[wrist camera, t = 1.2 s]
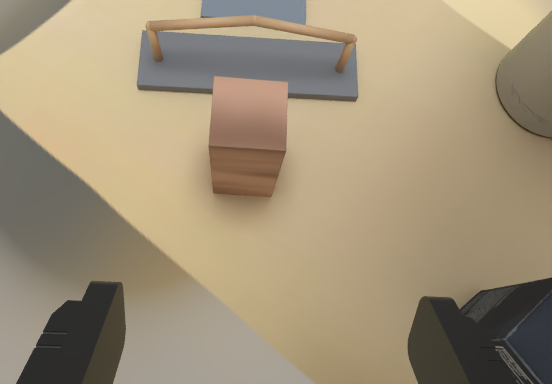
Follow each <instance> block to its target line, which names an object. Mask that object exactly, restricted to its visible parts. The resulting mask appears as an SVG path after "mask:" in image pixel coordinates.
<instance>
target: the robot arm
mask: <svg viewBox="0 0 552 384" xmlns="http://www.w3.org/2000/svg"><path fill="white" fill-rule="evenodd" d="M496 82H497V91H498V94H499V98H500V100H501V102H502V104H503V106H504V108H505V109H506V111H507V112H508V113H509V114H510V116H511V117H512V118H513V119H514V120H515V121H516V122H517V123H519V124H520V125H521V126H523V127H524V128H526V129H527V130H529V131H531V132H533V133H536V134H538V135H541V136H546V137H551V138H552V11H551V12H550V13H549V14H548V15H547V16H546V17H545V18H544V19H543V20H542V21H541V22H540V23H539V24H538V25H537V26H536V27H535V28H534V29H532V30H531V31H530V33H528V34H527V35H526V36H525V38H523V39H522V40H521V41H520V42H519V43H518V44H517V45H516V47H514V48H513V49H512V50H511V51H510V52H509V53H508V54H507V55H506V57H505V58H504V59H503V60H502V62H501V64H500V66H499V68H498V72H497V78H496ZM125 327H126V325H125V311H124V295H123V285H122V283H121V282H105V281H91V282H90V284H89V286H88V288H87V290H86V293H85V295H84V297H83V299H82V301H71V300H68V301H67V302H65V303H64V304H63V305H62V306H61V307H60V308H58V309H57V310H56V311H55V312H54V313H53V314H52V315H51V317H50V319H49V321H48V323H47V325H46V327H45V329H44V331H43V334H42V335H41V336H40V338H39V340H38V342H37V344H36V348H34V350H33V352H32V354H31V356H30V358H29V360H28V362H27V364H26V365H25V367H24V369H23V371H22V373H21V375H20V377H19V379H18V381H17V383H16V384H113V381H114V378H115V374H116V371H117V368H118V364H119V361H120V358H121V354H122V351H123V347H124V341H125V331H126V328H125ZM408 355H409V360H410V363H411V365H412V368H413V371H414V373H415V376H416V379H417V381H418V384H517V382H516V380H515V379H514V377H513V375H512V374H511V372H510V370H509V369H508V367H507V365H506V364H504V360H503V359H502V357H501V355H500V354H499V352H498V351H496V347H495V345H494V343H493V342H492V340H491V338H490V337H489V335H488V333H487V332H486V331H485V330H484V329H483V328H482V327H481V326H480V325H479V324H478V323H476V322H475V321H474V320H473V319H472V318H471V317H463V315H462V314H461V312H460V310H459V308H458V306H457V305H456V303H455V301H454V300H453V299H452V298H450V297H428V296H424V297H422V298H421V300H420V302H419V305H418V308H417V311H416V315H415V318H414V321H413V325H412V328H411V331H410V334H409V338H408Z"/></svg>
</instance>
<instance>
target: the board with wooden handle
mask: <svg viewBox="0 0 552 384" xmlns="http://www.w3.org/2000/svg"><path fill="white" fill-rule="evenodd" d="M238 26H259V27H264V28H269V29H274V30H280V31H285V32H290V33H295V34H301V35H306V36H311V37H316V38H322V39H327V40H332V41H337V42H343V43H330V42H314V41H299V40H283V39H268V38H252V37H237V36H222V35H206V34H191V33H175V32H160V31H164V30H183V29H201V28H220V27H238ZM146 30H147V31H144V30H142V39H141V50H140V60H139V70H138V80H137V86H138V89H139V90H155V91H174V92H192V93H211V94H213V85H214V76H218V77H230V78H243V79H255V80H268V81H281V82H288V98H304V99H323V100H341V101H356V99H357V98H358V84H357V61H356V44H355V43H356V41H357V37H356V36H355V35H353V34H348V33H343V32H338V31H332V30H327V29H322V28H317V27H312V26H307V25H302V24H297V23H292V22H287V21H282V20H277V19H271V18H266V17H261V16H256V15H249V16H231V17H214V18H196V19H178V20H160V21H148V22H147V23H146Z"/></svg>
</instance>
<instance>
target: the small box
mask: <svg viewBox="0 0 552 384" xmlns="http://www.w3.org/2000/svg"><path fill="white" fill-rule="evenodd" d="M460 312H461V314H462V315H463V317H471V318H472V319H473V320H474V321H475V322H476V323H478V324H479V325H480V326H481V327H482V328H483V329H484V330H485V331H486V332H487V333H488V335H489V337H490V338H491V340H492V342H493V343H494V345H495V347H496V351H498V352H499V354H500V355H501V357H502V359H503V360H504V364H506V365H507V367H508V369H509V370H510V372H511V374H512V375H513V377H514V379H515V380H516V382H517V384H552V278H548V279H543V280H537V281H533V282H527V283H522V284H517V285H511V286H505V287H500V288H495V289H490V290H483V291H480V292H479V293H478V294H477V295H476V296H474V297H473V298H472V299H471V300H470V301H469V302H468V303H467V304H466V305H464V306H463V307H462V308H461V309H460Z"/></svg>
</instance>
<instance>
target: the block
mask: <svg viewBox="0 0 552 384" xmlns="http://www.w3.org/2000/svg"><path fill="white" fill-rule="evenodd" d="M287 101H288V82H281V81H268V80H255V79H243V78H230V77H218V76H214V85H213V97H212V110H211V123H210V136H209V154H210V164H211V174H212V185H213V193H218V194H235V195H251V196H268V197H271V195H272V192H273V189H274V186H275V183H276V180H277V177H278V174H279V171H280V168H281V165H282V162H283V159H284V155H285V152H286V135H287Z"/></svg>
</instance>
